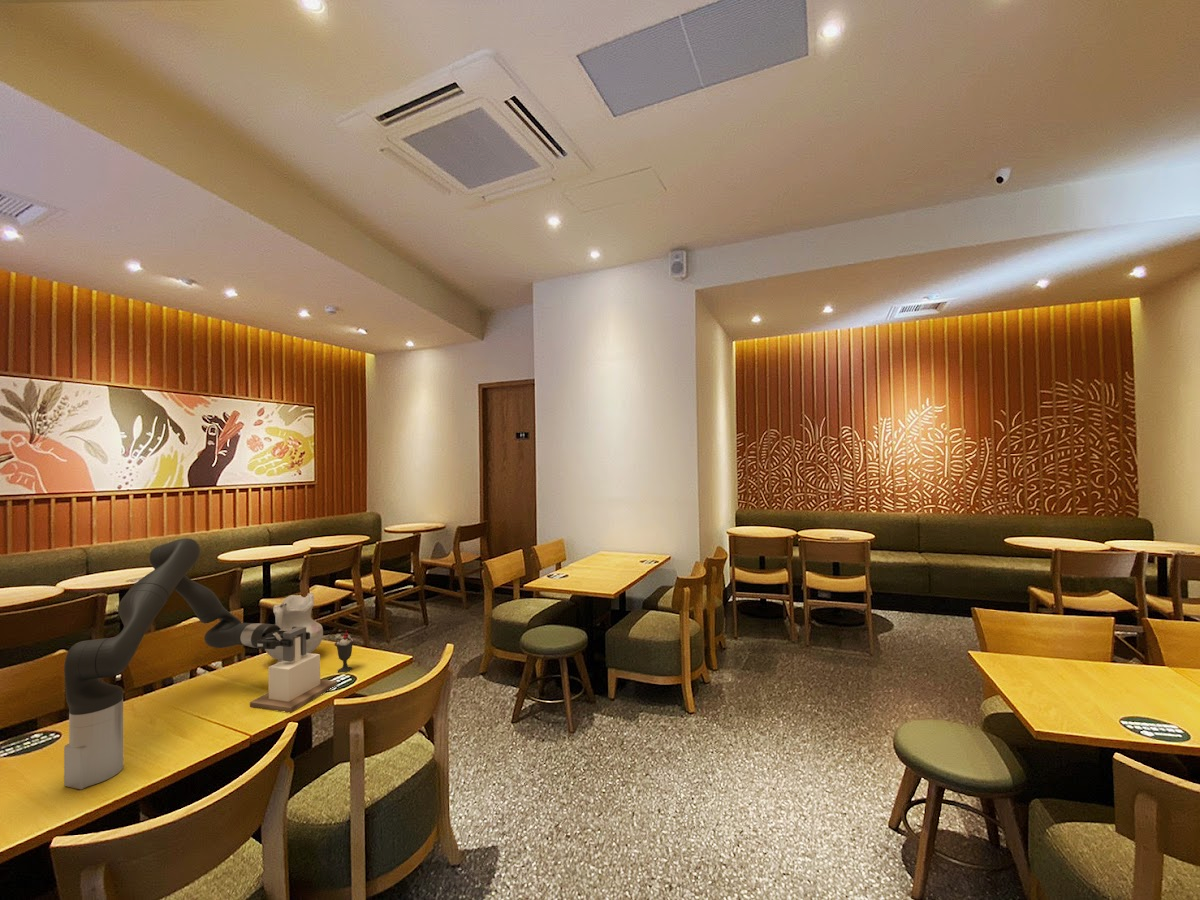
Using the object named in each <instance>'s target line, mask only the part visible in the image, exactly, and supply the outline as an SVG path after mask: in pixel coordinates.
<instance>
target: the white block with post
mask: <svg viewBox="0 0 1200 900" xmlns="http://www.w3.org/2000/svg"><path fill="white" fill-rule="evenodd" d="M320 679H321V654H319V653H313V652H311V653H306V655H304V656H301V646H300V637H299V636H295V637H294V660H293V661H291V662H288V661H281V662H279V663H275V664H272V665H270V666H268V693H269V699H274V700H281V701H288V702H289V701H291V700H293V699H294V698H296V697H298V696H300V695H302V694H303V693H305V692H307V691H309V690H311V689H312V688H314V687H316V686H318V685H320Z"/></svg>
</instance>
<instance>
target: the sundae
mask: <svg viewBox="0 0 1200 900" xmlns="http://www.w3.org/2000/svg"><path fill="white" fill-rule="evenodd" d="M355 642H356V640H355V639H354V638H352V637H351V635H350V634H349V633H348V630H347V629H346V630H345V632H344V633H343V634H342V635H341V636H340V638H339V640H338V641H335V643H334V644H333V645H334V647H336V649H337V656H338V659H339V660H340V661H341V662H342V667H340V668H339V669H337V671H338V672H337V673H339V672H345V673H348V672H347V671H349V672H351V671H352V670H353V669H354V667H353V666H348V659H350V658H351V656H352V653H353V652H352V650H353V645H354V643H355ZM350 670H351V671H350Z"/></svg>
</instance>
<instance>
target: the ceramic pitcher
mask: <svg viewBox="0 0 1200 900" xmlns="http://www.w3.org/2000/svg"><path fill="white" fill-rule="evenodd" d="M314 596H315V595H314V593H313V592H307V595H306V596H302V595H297V594H296V595H295V594H291V595H288V596H286V597H285V598H284V599H283V600H282V602H281V604H274V605H273V608H272V611H273V614H274V617H275V621H274V622H275V623H274V625H277V626H279V627H280V629H285V630H291V629H292V627H299V626H300V627H306V632H309V633H310V639H308V640H306V653H313V652H314V651H316V649H317V648H319V646H320V644H321V642H323V641H322V640H323V637H324V629H323V625H322V624H321V623H319V622H317V621H315V620H314V619H313V618H312V617H311V616H312V615H311V614H312V609H313V608H314V606H315V597H314ZM264 651H265V652H266V654H267V655H269V656H270V657H271V658H272V659H275V660H277V661H276V663H279V662H281V661H283V646H282V647H276V648H275V649H264ZM276 663H275V664H276Z"/></svg>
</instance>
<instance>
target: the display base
mask: <svg viewBox="0 0 1200 900" xmlns="http://www.w3.org/2000/svg"><path fill="white" fill-rule="evenodd" d="M335 685H337V686H338V681H336V680H330V679H329V680H328V679H321V678H320V685H318V686H316V687H314V688H312V689H311V690H309V691H307V692H305V693H303V694H302V695H300V696H298V697H296V698H294V699H293V700H291V701H289V702H288V701H281V700H274V699H269V692H267V693H265V694H263V695H261V696H259V697H257V698H255V699H253V700H251V701H249V708H254V709H261V708H262V710H268V711H274V710H278V711H277V712H281V711H285V712H284V713H288V712H290V713H289V714H291V713H293V712H295V711H297V710H298V709H300V708H302V707H303V706H305V705H307V704H308V703H311V702H312V701H313V699H314V700H315V699H317V698H318V696H319V697H321V696H322V695H324V694H325V693H324V692H326V691H327V690H329V689H330V688H332V687H334V686H335ZM334 688H335V687H334ZM332 689H333V688H332ZM329 691H330V690H329ZM327 692H328V691H327ZM327 692H326V693H327ZM323 693H324V694H323ZM321 694H322V695H321ZM316 697H317V698H316ZM294 710H295V711H294Z"/></svg>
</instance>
